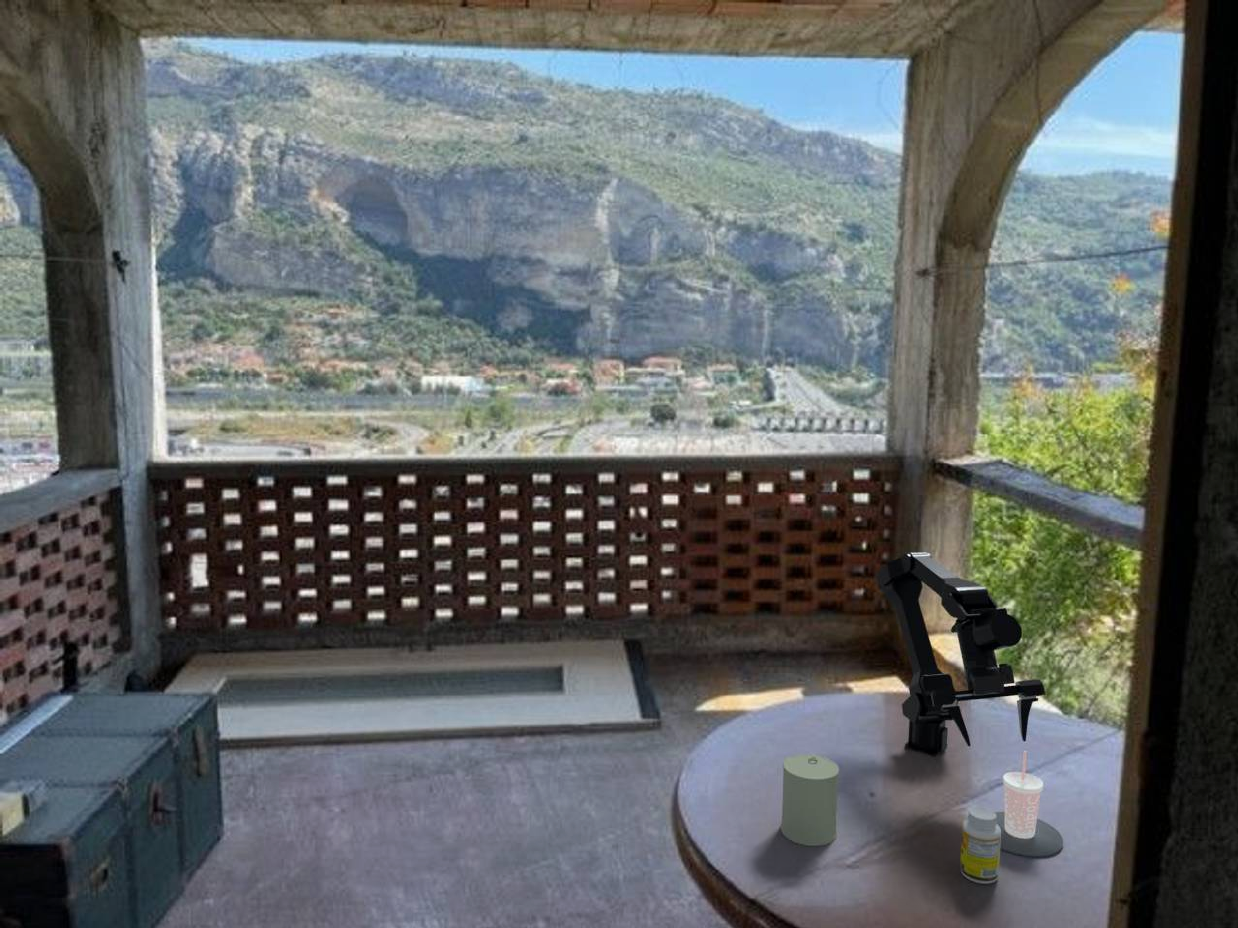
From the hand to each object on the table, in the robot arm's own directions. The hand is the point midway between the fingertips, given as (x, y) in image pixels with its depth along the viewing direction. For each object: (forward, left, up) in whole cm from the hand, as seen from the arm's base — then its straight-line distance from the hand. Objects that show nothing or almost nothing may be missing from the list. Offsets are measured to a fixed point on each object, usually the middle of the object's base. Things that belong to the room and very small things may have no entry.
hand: (996, 743), depth 162 cm
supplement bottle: (+6, -24, -11) cm, 27 cm away
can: (-20, -30, -11) cm, 38 cm away
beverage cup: (+7, -8, -11) cm, 15 cm away
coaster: (+7, -8, -11) cm, 16 cm away
